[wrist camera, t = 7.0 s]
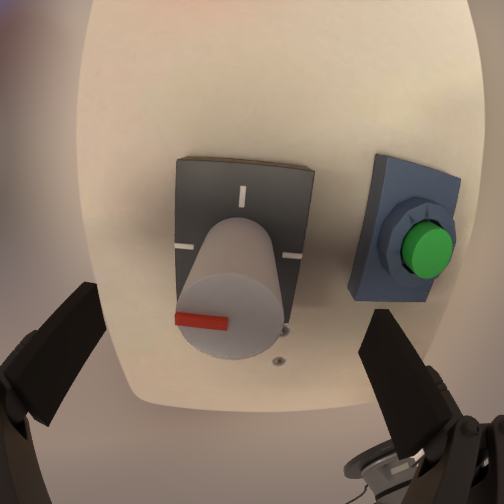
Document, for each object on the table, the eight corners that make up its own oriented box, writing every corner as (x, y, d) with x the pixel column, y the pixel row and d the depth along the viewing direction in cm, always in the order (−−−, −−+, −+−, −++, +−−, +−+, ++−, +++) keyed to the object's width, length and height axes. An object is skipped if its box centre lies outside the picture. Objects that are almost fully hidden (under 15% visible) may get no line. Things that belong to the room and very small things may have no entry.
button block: (415, 290, 24) (434, 312, 20) (347, 287, 24) (361, 313, 20) (446, 174, 19) (474, 183, 16) (375, 153, 19) (399, 158, 15)
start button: (432, 270, 19) (443, 280, 17) (395, 267, 19) (405, 278, 17) (445, 224, 17) (458, 232, 16) (409, 217, 17) (421, 225, 16)
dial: (276, 220, 18) (294, 282, 11) (268, 283, 20) (276, 367, 12) (204, 214, 18) (170, 271, 10) (202, 277, 20) (177, 358, 12)
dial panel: (285, 303, 24) (288, 324, 21) (185, 294, 24) (177, 314, 21) (306, 166, 20) (315, 171, 17) (186, 156, 19) (175, 159, 16)
